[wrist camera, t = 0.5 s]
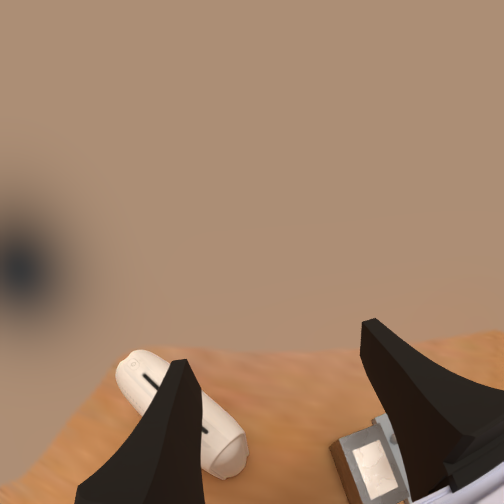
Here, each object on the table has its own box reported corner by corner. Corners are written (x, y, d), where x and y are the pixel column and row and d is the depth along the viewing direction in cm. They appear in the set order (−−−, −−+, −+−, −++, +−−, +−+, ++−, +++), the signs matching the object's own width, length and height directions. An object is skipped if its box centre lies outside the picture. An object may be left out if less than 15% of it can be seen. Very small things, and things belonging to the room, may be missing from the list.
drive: (391, 499, 19) (410, 496, 16) (353, 516, 18) (368, 517, 15) (365, 433, 25) (380, 422, 22) (328, 447, 24) (338, 438, 21)
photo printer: (147, 418, 26) (94, 364, 17) (176, 391, 28) (139, 326, 20) (226, 487, 21) (206, 478, 13) (256, 455, 24) (257, 424, 15)
